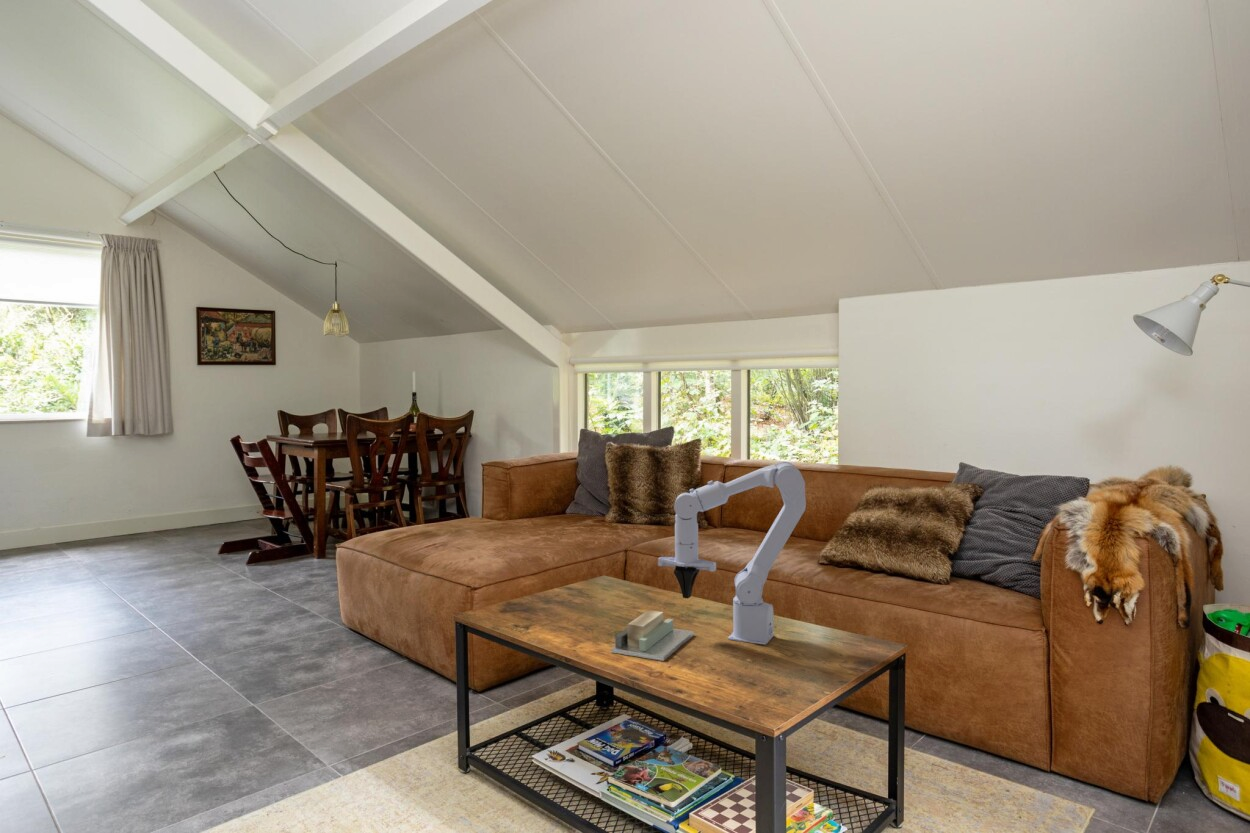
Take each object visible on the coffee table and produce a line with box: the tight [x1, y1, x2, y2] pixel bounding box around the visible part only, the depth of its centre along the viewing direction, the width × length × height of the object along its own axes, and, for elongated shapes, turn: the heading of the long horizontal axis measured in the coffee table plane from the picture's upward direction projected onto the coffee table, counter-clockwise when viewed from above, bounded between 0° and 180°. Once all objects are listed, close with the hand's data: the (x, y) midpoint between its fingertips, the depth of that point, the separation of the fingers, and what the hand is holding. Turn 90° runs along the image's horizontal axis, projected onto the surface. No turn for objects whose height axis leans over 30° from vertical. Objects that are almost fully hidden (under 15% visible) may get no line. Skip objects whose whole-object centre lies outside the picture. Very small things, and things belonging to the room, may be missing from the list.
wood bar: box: [626, 609, 664, 647], centre depth 179 cm, size 4×12×5 cm, turn 154°
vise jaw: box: [639, 618, 674, 651], centre depth 178 cm, size 2×17×2 cm, turn 154°
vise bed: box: [611, 627, 695, 662], centre depth 178 cm, size 13×19×4 cm
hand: (686, 597), depth 184 cm, fingers closed
